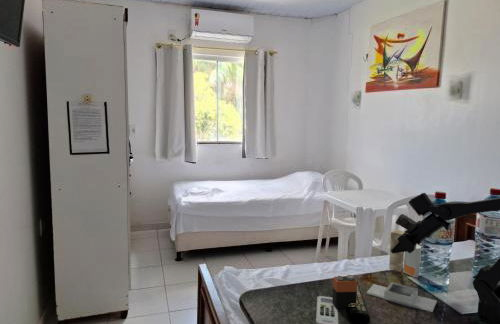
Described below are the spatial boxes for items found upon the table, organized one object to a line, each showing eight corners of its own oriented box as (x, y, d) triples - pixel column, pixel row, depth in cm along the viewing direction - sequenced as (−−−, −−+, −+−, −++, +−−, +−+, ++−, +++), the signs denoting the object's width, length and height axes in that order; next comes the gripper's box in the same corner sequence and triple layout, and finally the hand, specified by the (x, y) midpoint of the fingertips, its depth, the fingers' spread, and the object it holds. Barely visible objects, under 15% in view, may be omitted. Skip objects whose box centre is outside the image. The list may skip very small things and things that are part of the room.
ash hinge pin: (403, 268, 132) (405, 231, 131) (400, 271, 129) (402, 234, 128) (391, 265, 134) (393, 229, 133) (389, 269, 131) (391, 232, 130)
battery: (356, 308, 115) (357, 278, 114) (336, 309, 114) (337, 279, 114) (351, 301, 119) (352, 273, 118) (331, 302, 119) (333, 273, 118)
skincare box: (402, 272, 145) (404, 244, 144) (410, 270, 147) (411, 242, 146) (415, 278, 140) (417, 248, 139) (422, 276, 142) (424, 247, 141)
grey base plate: (436, 302, 120) (437, 293, 120) (432, 313, 113) (432, 304, 113) (373, 285, 132) (374, 277, 132) (366, 294, 125) (366, 286, 125)
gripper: (416, 204, 135) (384, 227, 142) (405, 213, 120) (370, 238, 127) (438, 228, 131) (404, 250, 138) (429, 240, 116) (392, 265, 123)
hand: (393, 250), depth 132 cm, fingers closed on ash hinge pin, 4 cm apart
